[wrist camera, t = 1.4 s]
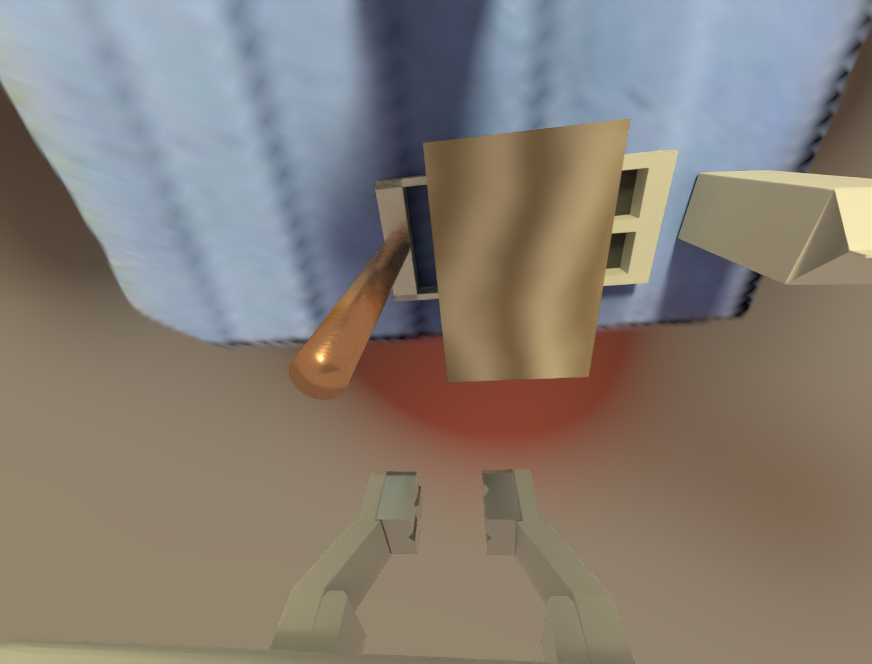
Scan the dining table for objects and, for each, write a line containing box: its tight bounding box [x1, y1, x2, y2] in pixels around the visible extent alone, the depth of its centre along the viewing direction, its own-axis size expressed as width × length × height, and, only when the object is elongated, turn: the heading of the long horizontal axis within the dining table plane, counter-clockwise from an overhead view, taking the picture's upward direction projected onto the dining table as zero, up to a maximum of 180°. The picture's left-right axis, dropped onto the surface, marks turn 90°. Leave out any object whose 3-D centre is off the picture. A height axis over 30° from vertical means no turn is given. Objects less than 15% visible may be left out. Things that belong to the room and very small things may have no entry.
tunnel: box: [423, 119, 630, 382], centre depth 33 cm, size 13×20×16 cm, turn 6°
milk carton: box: [678, 170, 872, 285], centre depth 29 cm, size 7×7×19 cm
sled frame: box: [289, 175, 439, 400], centre depth 28 cm, size 20×14×28 cm
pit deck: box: [603, 150, 679, 286], centre depth 37 cm, size 10×14×2 cm
